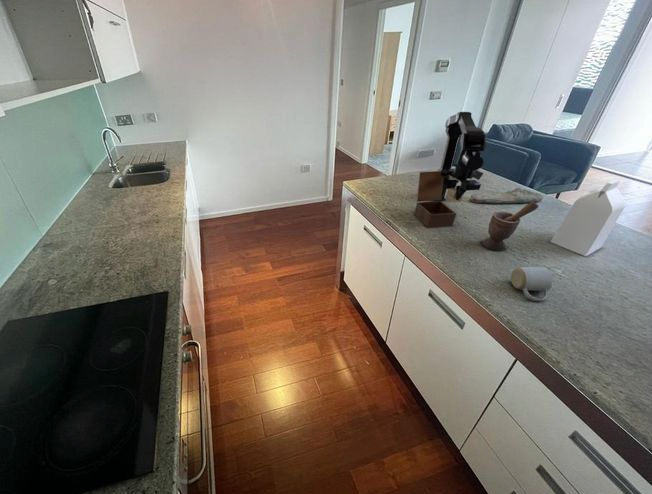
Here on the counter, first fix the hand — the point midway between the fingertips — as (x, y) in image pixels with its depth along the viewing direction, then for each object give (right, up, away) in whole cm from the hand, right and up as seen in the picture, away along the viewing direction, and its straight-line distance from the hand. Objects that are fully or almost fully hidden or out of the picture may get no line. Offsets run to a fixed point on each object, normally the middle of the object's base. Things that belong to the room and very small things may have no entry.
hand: (454, 197), depth 128 cm
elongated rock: (+38, +2, +21) cm, 44 cm away
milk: (+40, -21, -13) cm, 47 cm away
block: (0, -1, +1) cm, 1 cm away
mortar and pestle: (+10, -21, -13) cm, 27 cm away
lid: (-7, +6, +6) cm, 11 cm away
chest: (-6, -9, +6) cm, 13 cm away
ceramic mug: (+5, -35, -34) cm, 49 cm away
